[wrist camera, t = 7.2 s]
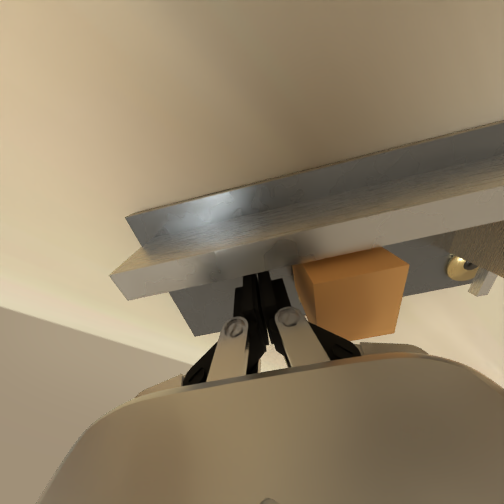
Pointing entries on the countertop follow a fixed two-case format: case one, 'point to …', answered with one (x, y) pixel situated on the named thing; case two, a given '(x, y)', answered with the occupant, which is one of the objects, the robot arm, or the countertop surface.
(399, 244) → the bolt plate
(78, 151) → the countertop surface
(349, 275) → the block
